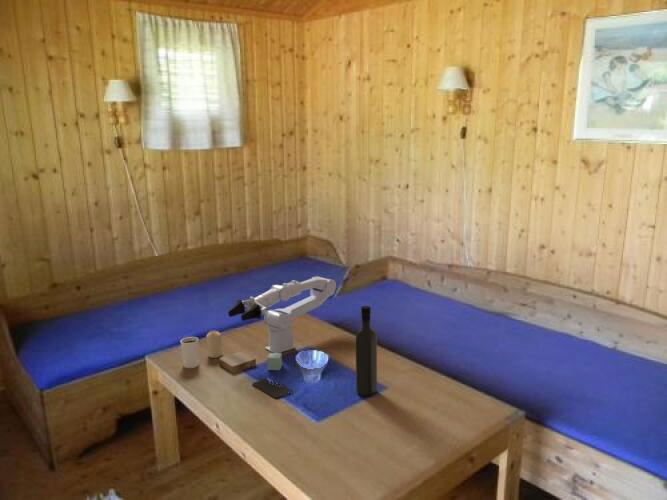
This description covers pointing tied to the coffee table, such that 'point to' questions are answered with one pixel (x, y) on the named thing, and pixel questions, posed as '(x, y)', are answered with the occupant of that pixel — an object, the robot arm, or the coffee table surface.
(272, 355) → the painted block
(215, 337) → the candle
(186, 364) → the beige cup
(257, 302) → the robot arm
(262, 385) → the phone
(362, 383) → the wine bottle
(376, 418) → the coffee table surface
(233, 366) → the walnut base
